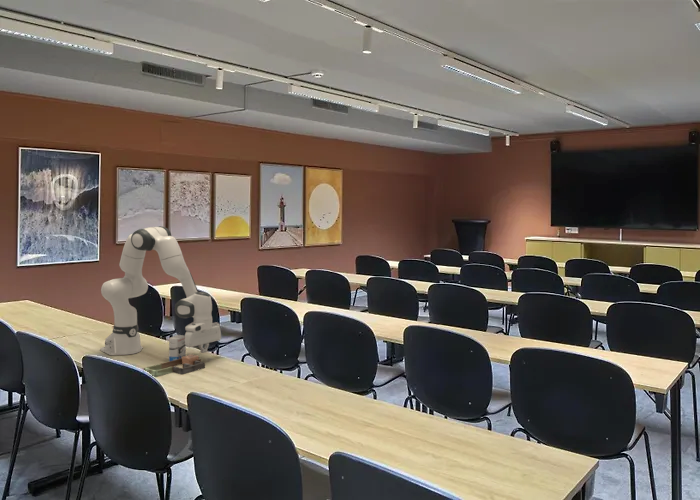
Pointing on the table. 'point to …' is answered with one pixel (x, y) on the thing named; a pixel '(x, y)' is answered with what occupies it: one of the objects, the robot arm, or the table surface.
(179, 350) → the ink box
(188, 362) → the block
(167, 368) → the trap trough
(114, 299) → the robot arm
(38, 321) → the table surface
